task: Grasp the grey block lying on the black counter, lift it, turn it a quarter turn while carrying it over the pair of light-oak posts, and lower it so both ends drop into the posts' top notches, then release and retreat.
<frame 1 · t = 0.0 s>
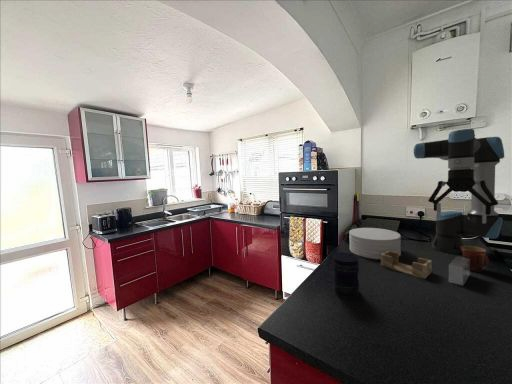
hand: (460, 220, 86), 28 cm above the worktop, fingers open, 13 cm apart
plate stack: (373, 251, 132), on the worktop
storage jar: (346, 291, 89), on the worktop
mug: (475, 271, 100), on the worktop
grey block: (459, 278, 94), on the worktop
posts: (405, 268, 106), on the worktop
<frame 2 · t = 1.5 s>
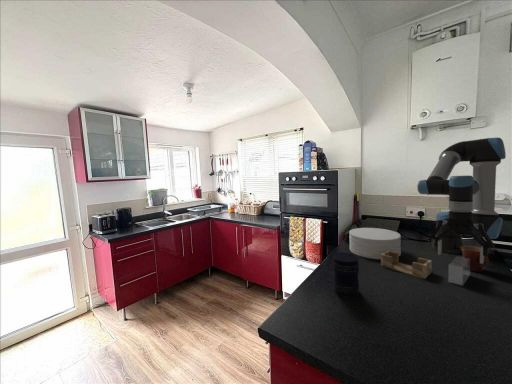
hand: (459, 258, 93), 10 cm above the worktop, fingers open, 13 cm apart
nothing on the worktop moved.
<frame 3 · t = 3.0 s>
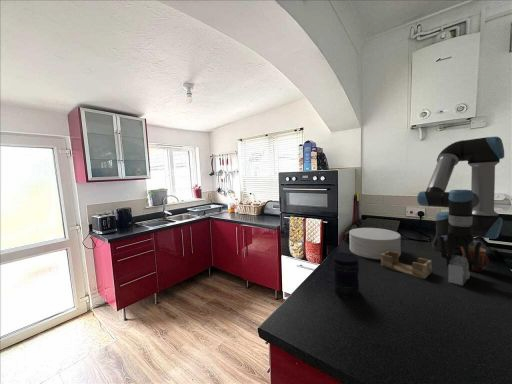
hand: (459, 275, 94), 1 cm above the worktop, fingers closed on grey block, 4 cm apart
grey block: (459, 278, 94), on the worktop, touching gripper
everything else where it was.
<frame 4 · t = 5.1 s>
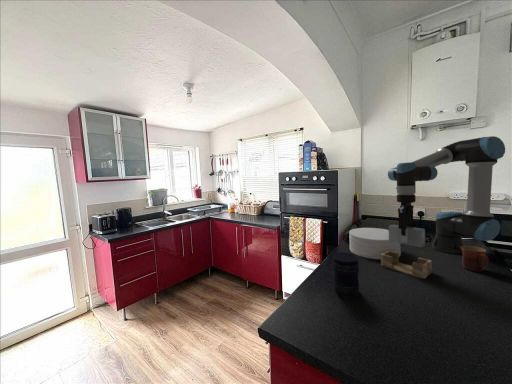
hand: (406, 240, 104), 15 cm above the worktop, fingers closed on grey block, 4 cm apart
grey block: (406, 243, 104), point 13 cm above the worktop, touching gripper
everything else where it was.
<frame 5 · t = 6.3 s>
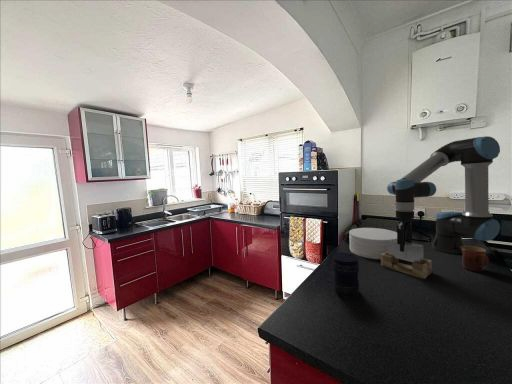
hand: (404, 256, 105), 7 cm above the worktop, fingers closed on grey block, 4 cm apart
grey block: (404, 258, 105), point 5 cm above the worktop, touching gripper
everything else where it was.
when the fingers open (3 cm above the worktop, at t = 7.2 s): grey block drops 1 cm, resting on posts.
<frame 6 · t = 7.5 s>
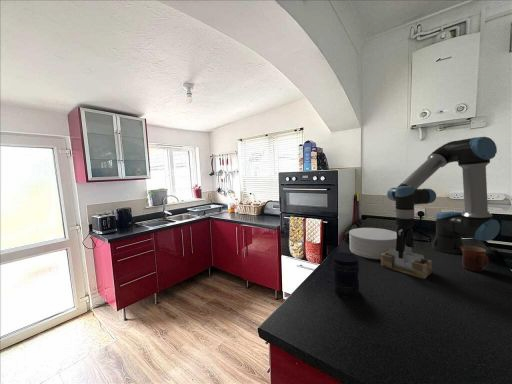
hand: (405, 261, 106), 4 cm above the worktop, fingers open, 8 cm apart
grey block: (405, 267, 106), resting on posts
everything else where it was.
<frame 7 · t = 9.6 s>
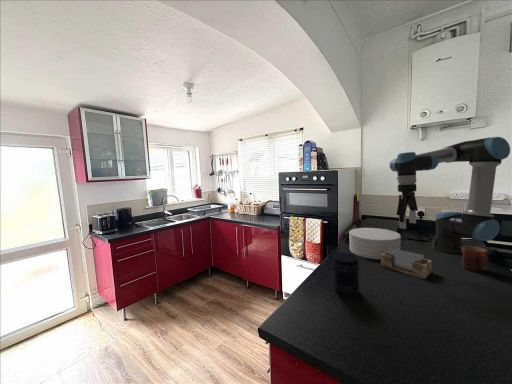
hand: (407, 225, 106), 22 cm above the worktop, fingers open, 13 cm apart
nothing on the worktop moved.
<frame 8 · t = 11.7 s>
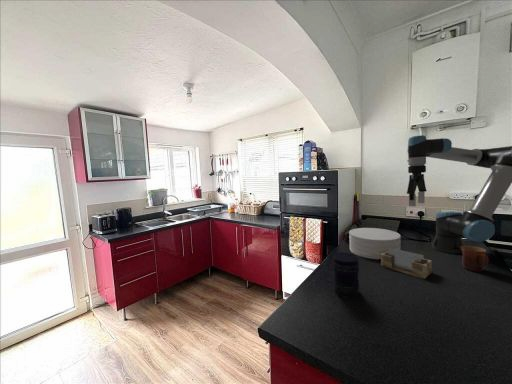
hand: (416, 204, 114), 31 cm above the worktop, fingers open, 13 cm apart
nothing on the worktop moved.
at the end: grey block 0.1 cm off-centre on the posts, point 0.5 cm above the posts's base; the gripper is holding nothing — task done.
